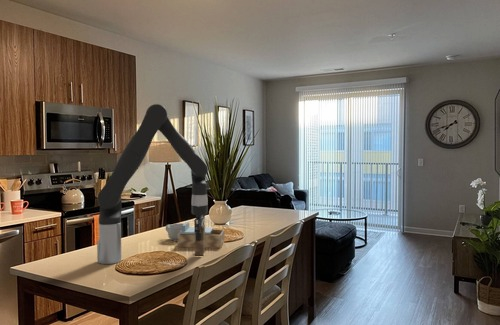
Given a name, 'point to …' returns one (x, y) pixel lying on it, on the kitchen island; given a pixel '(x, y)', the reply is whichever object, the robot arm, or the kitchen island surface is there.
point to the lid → (193, 229)
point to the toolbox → (211, 240)
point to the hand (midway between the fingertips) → (199, 238)
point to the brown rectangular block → (200, 243)
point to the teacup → (174, 231)
